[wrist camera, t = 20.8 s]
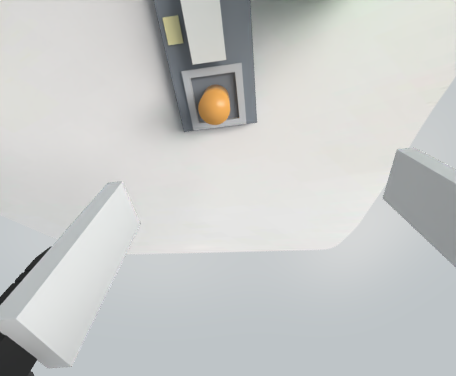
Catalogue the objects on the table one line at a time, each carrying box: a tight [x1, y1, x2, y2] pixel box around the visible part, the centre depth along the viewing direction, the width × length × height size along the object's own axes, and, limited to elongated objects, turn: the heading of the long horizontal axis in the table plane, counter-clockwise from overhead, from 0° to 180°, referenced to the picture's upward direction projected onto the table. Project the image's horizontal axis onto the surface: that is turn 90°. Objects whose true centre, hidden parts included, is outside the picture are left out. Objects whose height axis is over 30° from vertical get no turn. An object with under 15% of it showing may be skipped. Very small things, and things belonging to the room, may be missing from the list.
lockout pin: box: [198, 84, 230, 125], centre depth 31 cm, size 4×4×7 cm
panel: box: [154, 0, 257, 132], centre depth 30 cm, size 26×12×3 cm, turn 7°
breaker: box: [180, 0, 226, 65], centre depth 27 cm, size 8×4×2 cm, turn 7°
